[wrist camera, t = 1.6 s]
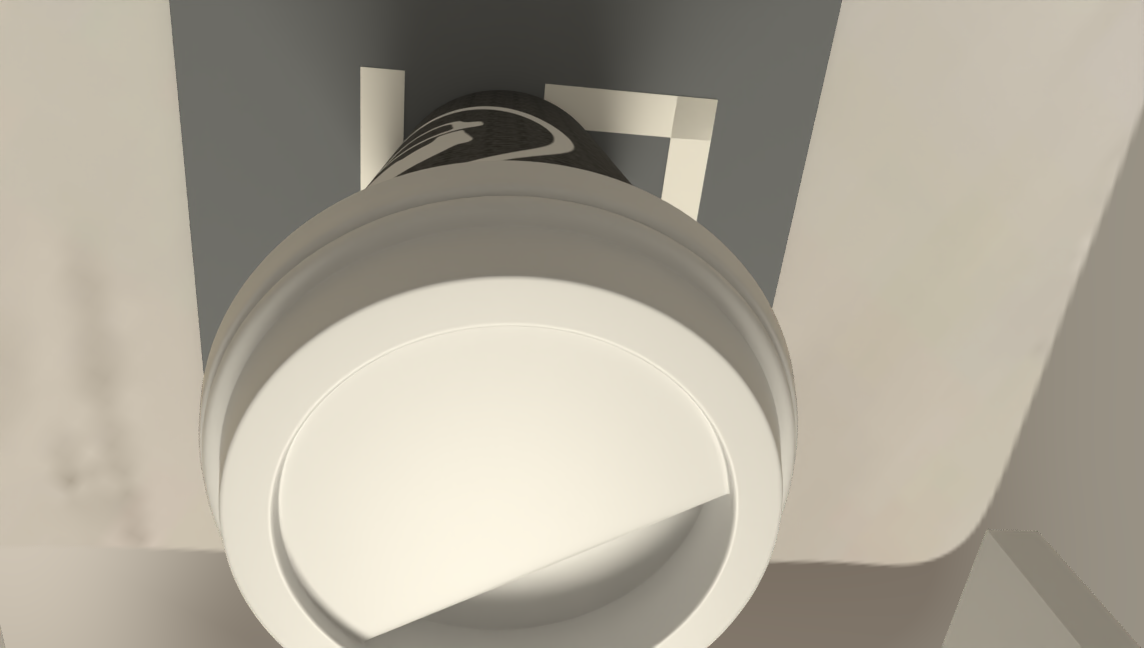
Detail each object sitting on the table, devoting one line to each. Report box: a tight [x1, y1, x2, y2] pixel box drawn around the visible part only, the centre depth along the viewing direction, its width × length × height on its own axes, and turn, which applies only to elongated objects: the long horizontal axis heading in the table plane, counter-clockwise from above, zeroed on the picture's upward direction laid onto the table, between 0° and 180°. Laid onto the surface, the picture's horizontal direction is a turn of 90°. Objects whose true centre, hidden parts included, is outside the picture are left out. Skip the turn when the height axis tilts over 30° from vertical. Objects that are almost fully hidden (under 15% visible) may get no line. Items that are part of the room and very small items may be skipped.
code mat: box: [169, 0, 842, 373], centre depth 26 cm, size 18×18×1 cm
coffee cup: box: [199, 90, 798, 648], centre depth 19 cm, size 10×10×15 cm
